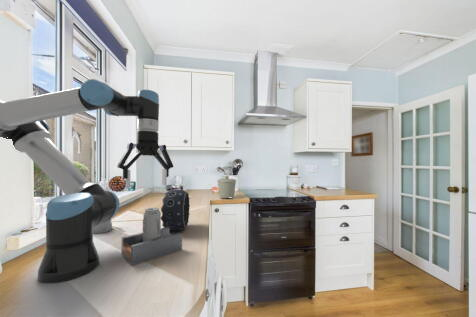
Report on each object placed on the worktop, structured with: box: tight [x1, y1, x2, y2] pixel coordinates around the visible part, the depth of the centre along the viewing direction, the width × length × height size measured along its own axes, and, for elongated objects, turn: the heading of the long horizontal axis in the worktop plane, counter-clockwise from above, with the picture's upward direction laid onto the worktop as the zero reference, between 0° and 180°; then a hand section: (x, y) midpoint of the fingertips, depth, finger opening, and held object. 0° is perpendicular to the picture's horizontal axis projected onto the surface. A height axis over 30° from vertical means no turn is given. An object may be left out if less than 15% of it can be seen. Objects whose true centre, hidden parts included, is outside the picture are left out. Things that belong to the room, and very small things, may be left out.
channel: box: [121, 227, 183, 266], centre depth 81 cm, size 18×12×6 cm, turn 134°
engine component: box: [93, 218, 113, 234], centre depth 108 cm, size 11×20×10 cm
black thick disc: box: [160, 189, 191, 232], centre depth 107 cm, size 11×20×20 cm, turn 4°
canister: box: [216, 175, 237, 199], centre depth 199 cm, size 18×18×21 cm
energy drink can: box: [142, 207, 162, 242], centre depth 81 cm, size 6×6×15 cm
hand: (146, 186), depth 82 cm, fingers open, 13 cm apart
